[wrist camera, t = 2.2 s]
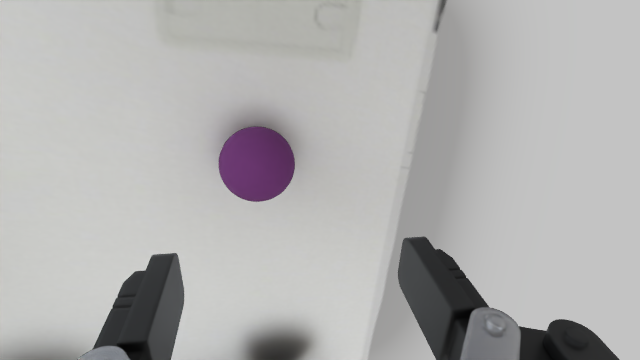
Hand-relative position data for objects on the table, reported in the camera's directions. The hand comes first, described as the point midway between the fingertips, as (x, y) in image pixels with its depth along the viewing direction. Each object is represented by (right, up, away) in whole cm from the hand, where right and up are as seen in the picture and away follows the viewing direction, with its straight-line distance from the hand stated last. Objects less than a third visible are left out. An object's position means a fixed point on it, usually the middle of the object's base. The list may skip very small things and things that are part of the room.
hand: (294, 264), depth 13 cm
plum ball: (-3, +4, +10) cm, 12 cm away
